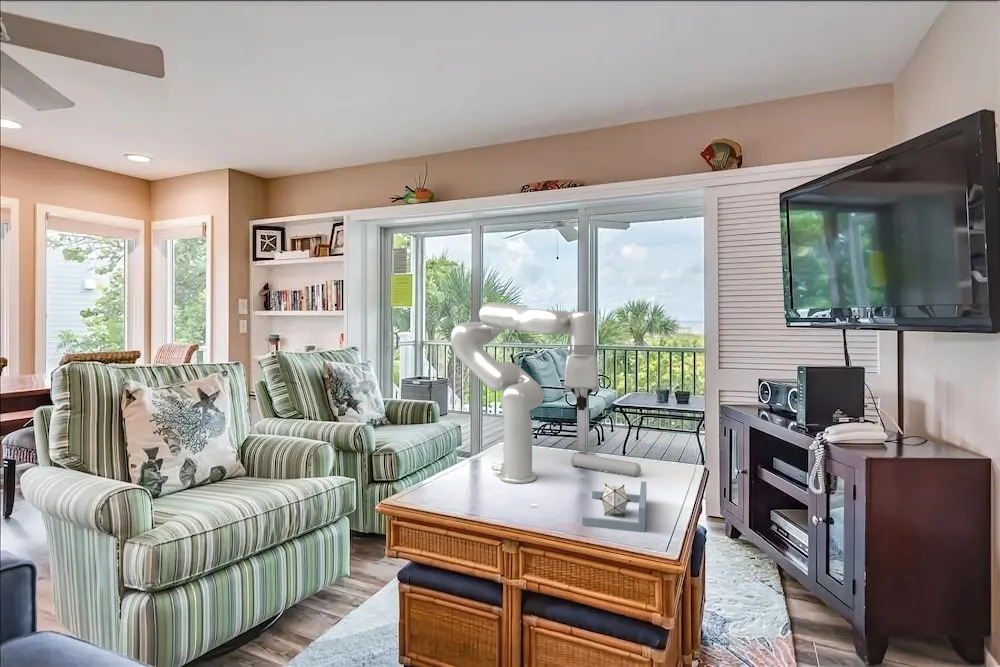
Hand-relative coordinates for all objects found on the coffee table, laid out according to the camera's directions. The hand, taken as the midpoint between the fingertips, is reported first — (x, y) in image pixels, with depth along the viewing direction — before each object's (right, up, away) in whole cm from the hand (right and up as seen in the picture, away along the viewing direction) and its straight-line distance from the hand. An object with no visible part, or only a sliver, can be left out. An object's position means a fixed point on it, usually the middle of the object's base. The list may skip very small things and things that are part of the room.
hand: (581, 409), depth 166 cm
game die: (+6, -26, -21) cm, 34 cm away
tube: (+12, -25, +21) cm, 35 cm away
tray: (+6, -26, -20) cm, 33 cm away
